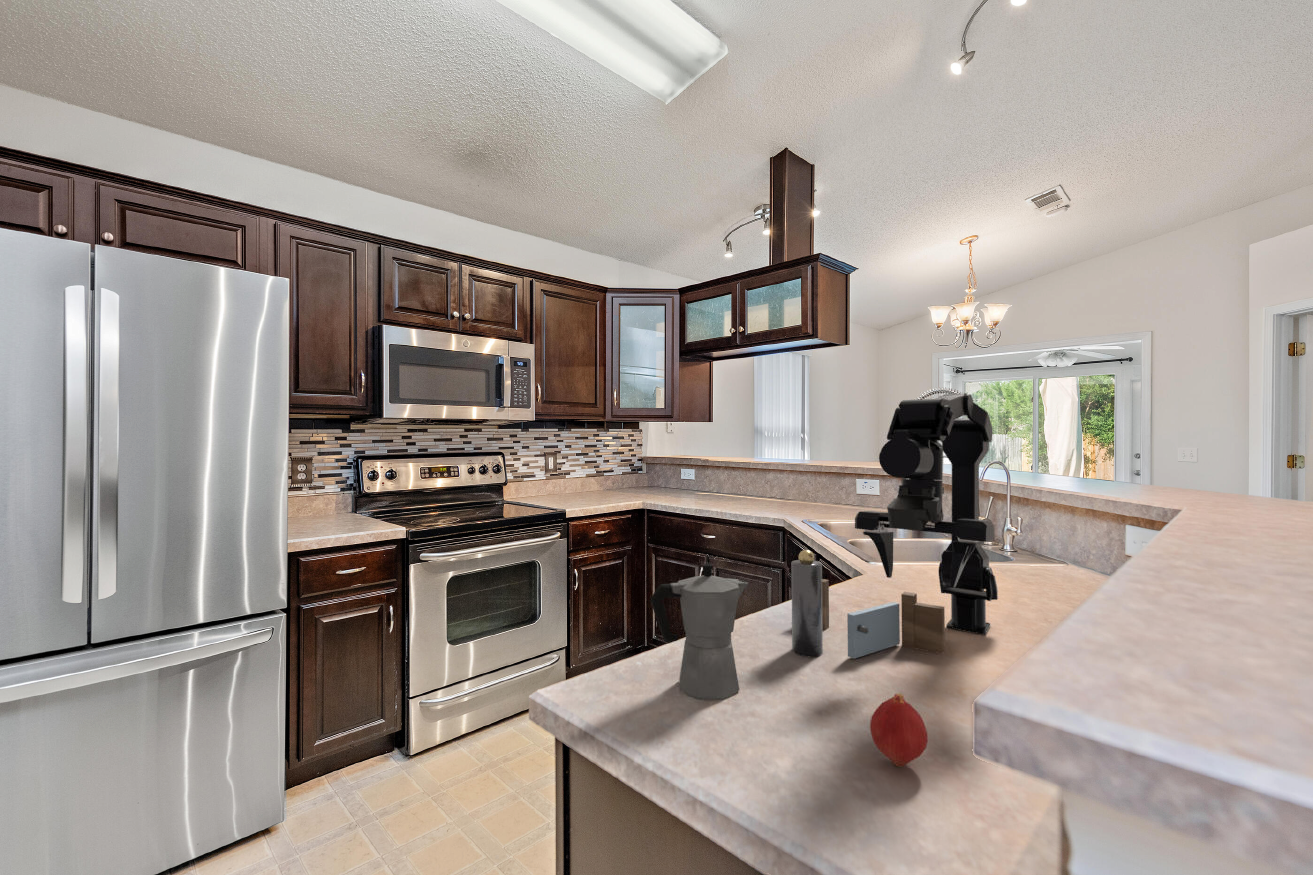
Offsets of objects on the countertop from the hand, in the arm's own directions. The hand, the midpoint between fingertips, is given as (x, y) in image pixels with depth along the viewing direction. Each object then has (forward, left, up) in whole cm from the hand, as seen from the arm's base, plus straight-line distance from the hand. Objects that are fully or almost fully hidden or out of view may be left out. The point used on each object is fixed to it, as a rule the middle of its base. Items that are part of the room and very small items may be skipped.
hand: (920, 582), depth 86 cm
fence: (-12, -12, -14) cm, 22 cm away
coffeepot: (+24, -24, -14) cm, 37 cm away
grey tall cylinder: (+1, -18, -14) cm, 23 cm away
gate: (-5, -8, -14) cm, 17 cm away
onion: (+27, +4, -14) cm, 31 cm away
